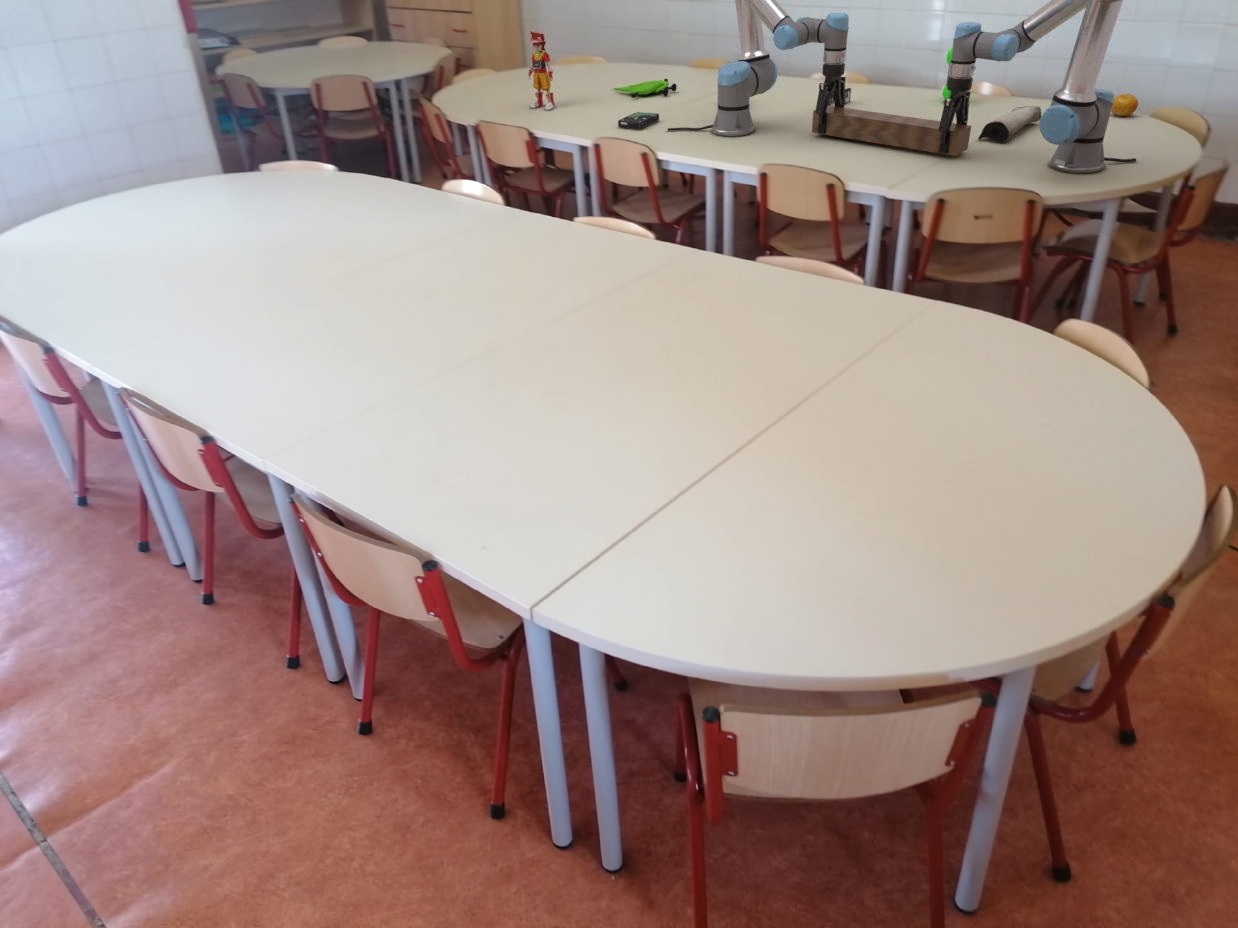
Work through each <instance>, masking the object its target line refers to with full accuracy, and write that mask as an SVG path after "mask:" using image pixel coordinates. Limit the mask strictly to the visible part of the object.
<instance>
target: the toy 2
mask: <svg viewBox="0 0 1238 928" xmlns="http://www.w3.org/2000/svg"><path fill="white" fill-rule="evenodd" d="M669 85H670V83H669V79H668V78H664V79H663V80H649V81H644V82H640V83H634V84H629V85H627V86H621V87H613V88H612V89H613V90H616V91H619V92H623V93H627V94H628V93H629V94H631V95H630V96H631V98H632V99H634V98H636V96H637V95H650V94H652V93H654V94H658V93H662V95H663V96H665V97H667V96H668V95H669V90H671V91H672V92H676V91H677V84H676V83H672V84H671V86H669Z"/></svg>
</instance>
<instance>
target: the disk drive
mask: <svg viewBox="0 0 1238 928" xmlns="http://www.w3.org/2000/svg"><path fill="white" fill-rule="evenodd" d="M658 121H660V113H654V112H642V111H637V112H633V113H631V114H629V115H627V116H624V117H623V118H620V119H618V120H617V126H618V128H619V127H620V128H624V129H632V130H643V129H644V128H646V127H648V126H650V125H652V124H654V123H656V122H658Z"/></svg>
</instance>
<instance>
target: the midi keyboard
mask: <svg viewBox="0 0 1238 928" xmlns="http://www.w3.org/2000/svg"><path fill="white" fill-rule="evenodd" d="M851 95H852V88H851V87H847V88H845V104H846V103H848V102H851ZM828 106H835V103H834V98H833V94H832V95H831V97H830V100H829V103H828Z"/></svg>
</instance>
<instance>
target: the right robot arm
mask: <svg viewBox="0 0 1238 928" xmlns="http://www.w3.org/2000/svg"><path fill="white" fill-rule="evenodd" d="M1123 2H1124V0H1049V2H1047V3H1046V4H1044V5H1043V6H1041V7H1040V8H1039V9H1037V10H1036V11H1034V12H1033V13H1032V14H1030V15H1028V17H1026V18H1024V20H1022V21H1020V22H1019V23H1017V24H1016V25H1014V26H1013V27H1011V28H1008V29H1005V30H1002V31H998V32H993V31H991V32H990V31H982V24H981V23H980V22H975V21H967V22H960V23H958V24H957V25H956V26H955V30H954V36H953V39H952V41H953V42H952V47H953V49H952V57H951V62H950V68H949V67H948V70H949V74H948V73H947V76H948V75H949V76H950V77H949V78H948V82H947V81H946V84H947V90H949V91H950V92H951V94H950V97H949V99H944V100H943V101H944V103H943V109H942V113H941V116H940V117H941V118H940V120H939V121H940V125H939V130H938V131H939V132H942V133H941V139H940V146H939V152H940V153H939V154H941V153H947V152H948V146H949V139H950V132H949V131H950V128H951V125H952V123H954V119H955V120H956V122H955V123H956V124H963V125H968V120H969V110H970V109H969V108H970V98H971V93H972V92H971V90H972V87H973V82H974V81H973V80H974V78H973V76H974V72H975V70H976V69H977V67H976V63H977V59H980V60H988V61H995V62H999V63H1000V62H1010V61H1012V60H1013V59H1014V57H1016V56H1017V55H1016V54H1019V53H1023V52H1025V51H1028V50H1029V49H1031V48H1032V47H1033V46H1034V45H1035V43H1036V42H1037V41H1039V40H1041V39H1042V38H1043V37H1045V36H1046V35H1048V34H1049V33H1050V32H1052V31H1054V30H1055V29H1056V28H1058V27H1060V26H1061V25H1062V24H1064V23H1065V22H1067V21H1068V20H1070V19H1072V18H1073V17H1074V16H1076V15H1077V14H1079V13H1080V12H1082V11H1083V10H1084V13H1083V16H1082V20H1081V23H1080V26H1079V29H1078V33H1077V36H1076V39H1075V42H1074V46H1073V49H1072V52H1071V55H1070V60H1069V62H1068V65H1067V68H1066V72H1065V75H1064V78H1063V82H1062V85H1061V86H1060V88H1058V89H1057V90H1055V91H1054V93H1053V96H1052V99H1051V102H1050V105H1049V107H1047V108H1046V109H1045V110H1044V111H1043V113H1041V118H1040V120H1039V121H1038V125H1039V132H1040V134H1041V135H1042V137H1043V139H1044V140H1045V141H1046V142H1048V143H1049V144H1051V145H1054V146H1057V147H1056V149H1055V151H1054V153H1053V154H1052V156H1051V159H1050V163H1049V166H1050V167H1051V168H1052V169H1054V170H1057V171H1059V172H1064V173H1070V174H1093V173H1097V172H1101V171H1102V170H1103V169H1104V166H1105V162H1115V163H1132V162H1133V163H1134V162H1136V161H1137V158H1136V157H1134V158H1117V157H1105V152H1104V141H1105V140H1104V139H1105V135H1106V131H1107V128H1108V124H1109V120H1110V117H1111V112H1112V111H1111V109H1112V105H1113V100H1114V99H1115V94H1114V92H1113V91H1111V90H1108V89H1103V88H1096V84H1097V81H1098V78H1099V75H1100V72H1101V69H1102V66H1103V62H1104V60H1105V57H1106V53H1107V51H1108V49H1109V48H1108V47H1109V44H1110V42H1111V39H1112V35H1113V32H1114V29H1115V26H1116V23H1117V20H1118V17H1119V14H1120V11H1121V8H1122V4H1123Z"/></svg>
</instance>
